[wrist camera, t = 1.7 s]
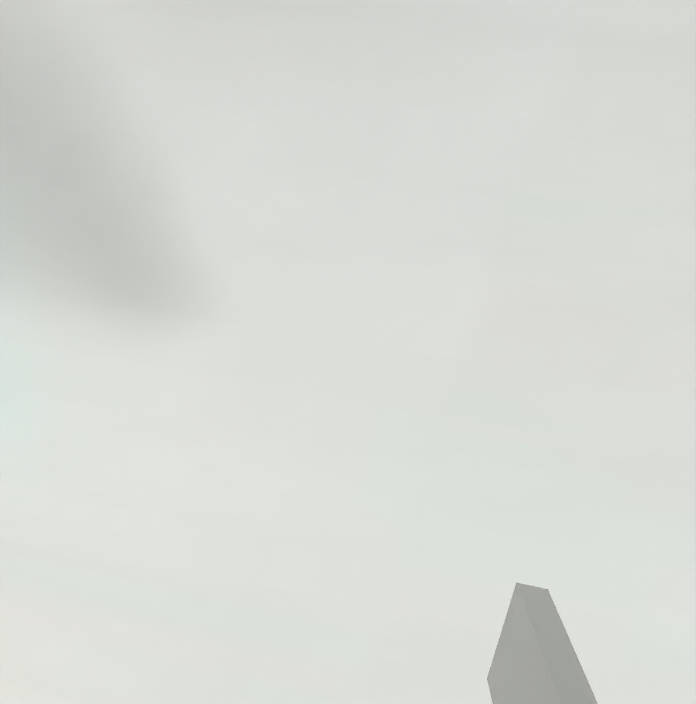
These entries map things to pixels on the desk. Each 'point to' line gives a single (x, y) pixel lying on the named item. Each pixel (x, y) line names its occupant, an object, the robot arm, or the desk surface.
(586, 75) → the desk surface
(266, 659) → the desk surface
